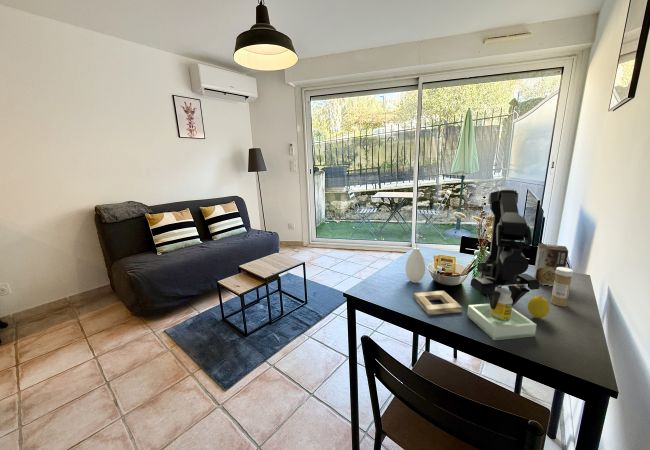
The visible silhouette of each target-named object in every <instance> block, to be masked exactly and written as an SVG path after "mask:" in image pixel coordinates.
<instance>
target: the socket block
mask: <svg viewBox="0 0 650 450" xmlns="http://www.w3.org/2000/svg"><path fill="white" fill-rule="evenodd" d="M413 299H414V300H415V301H416V302H417V303H418V304H419V306H420V307H421V308H422V309H423V310H424V312H425V313H426V314H427V315H429V316H431V315H442V314H453V313H462V311H463V310H462V309H463V306H461V305H460V303H458V302H457V301H456V300H455V299H453V297H452V296H450V295H449V294H448V293H447V292H446V291H445V290H435V291H434V290H433V291H424V292H414V293H413ZM437 300H438V301H439V300H440V301H441V302H442V303H440V304H432V302H430V301H437Z"/></svg>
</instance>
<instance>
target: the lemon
mask: <svg viewBox="0 0 650 450" xmlns="http://www.w3.org/2000/svg"><path fill="white" fill-rule="evenodd" d="M527 310H528V312H529V314H530V315H532V316H533V317H534V318H535V319H539V318H540V319H541V318H542V319H543V318H545V317H547V315H548V314H549V312H550V304H549V302H548V300H547V299H546V298H545V297H542V296H541V295H535V296H533V297H531V298H530V299H529V301H528V304H527Z"/></svg>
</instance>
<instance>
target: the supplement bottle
mask: <svg viewBox="0 0 650 450" xmlns="http://www.w3.org/2000/svg"><path fill="white" fill-rule="evenodd" d="M497 291H498V292H499V293H501V294H500V297H499V300H498V302H497V305H496V307H495V309H494V310H493V309H492V308H491V313H490V316H491V318H492V319H494V320H496V321H498V322H503V323H505V322H509V321H510V316H511V310H512V308H513V307H512V303H513V300H512V298H511V291H510V290H509V288H504V287H502V288H498V290H497Z"/></svg>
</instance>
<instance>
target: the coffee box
mask: <svg viewBox="0 0 650 450" xmlns="http://www.w3.org/2000/svg"><path fill="white" fill-rule="evenodd" d="M568 255H569V250H568V248H567V246H565V245H555V244H545V243H538V245H537V251H536V258H535V265H534V270H533V276H532V277H534V278H536V279H538V281H539V283H540V284H543V285H542V286H544V285H551V286H554V280H555V276H556V268H557V267H565V268H567V267H566V266H567V260H568Z"/></svg>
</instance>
